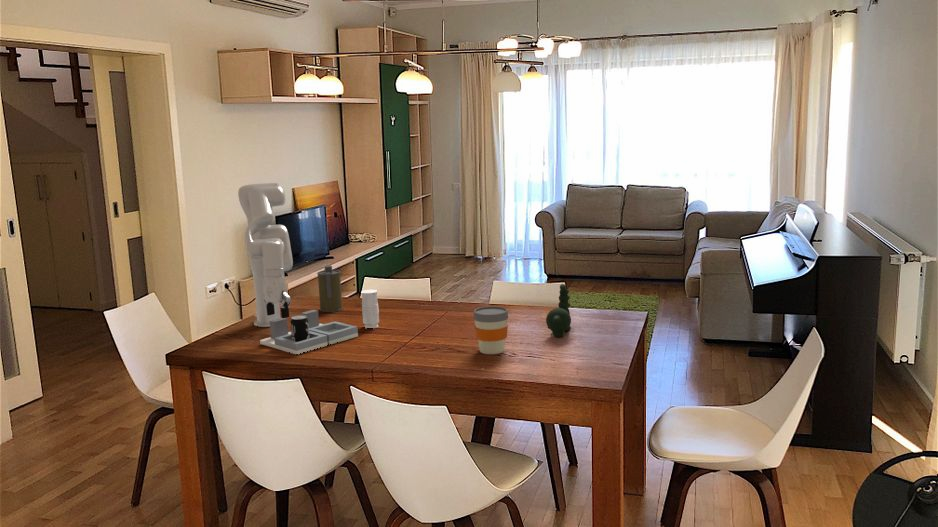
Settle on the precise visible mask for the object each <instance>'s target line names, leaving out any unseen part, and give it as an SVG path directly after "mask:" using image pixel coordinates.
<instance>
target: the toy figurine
mask: <svg viewBox="0 0 938 527" xmlns="http://www.w3.org/2000/svg"><path fill="white" fill-rule="evenodd" d="M559 289H560V290H559V296H558V301H559V302H558V304H557V306H558V307H555V308H553V309H551V310H549V312H548V313H547V315H546V316H545V317H546V318H545V323H546V326H547V328H548V329H549V330H550V331H551V332H552V336H553V337H554V338H558V339H560V338H563V337H564V335H565V333H569V332H570V331H571V329H572V326H571V323H572V317H571V315H570V314H571V312H570V309H569V307H571V304H570V302H569V300H570V299H571V297H570V296H569V292H570V291H569V289H567V286H566V284H564V283H561V284H560V285H559Z"/></svg>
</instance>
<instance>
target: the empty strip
mask: <svg viewBox="0 0 938 527" xmlns="http://www.w3.org/2000/svg"><path fill="white" fill-rule="evenodd" d="M300 315H306V316H307V319H308V325H309V331H312V332H316V333H319V334H323V335H327V344H329V346H331V345H333V344H337V342H338V343H341V342H344V341H347V340H351V339H355V338H356V337H359V331H358V326H356V325H352V324H347V323H344V322H340V321H336V320H335V321H332V322H327V323H320V318H319V310H317V309H310V310H307V311H304V312H301V314H300ZM330 344H331V345H330Z"/></svg>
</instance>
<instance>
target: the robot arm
mask: <svg viewBox="0 0 938 527" xmlns="http://www.w3.org/2000/svg"><path fill="white" fill-rule="evenodd" d="M237 192H238V193H237V195H238V196H237V197H238V201H239V205H240V207H241V209H242V210H243V212H244V214H245V217H246V220H247V227H246V229H245V232H244V242H245V248H246V254H247V256H248V257H249V264H250V269H251V273H252V278H253V279H252V280H253V287H254V296H255V306H256V307H255V309H256V313H254V317H256V320H255V321H253V325H254V326H255V327H257V326H258V327H259V328H270V321H271V320H275V319H279V318H286V319H287V318H290V304H291V299H292V298H291V296H290V295H289V294H288V287H287V282H286V277H285V272H287V271H290V270H291V269H292V268H293V265H294V261H293V260H294V259H293V253H292V248H291V241H290V235H289V232H288V229H287V227H286V226H285V225H284V224H273V223H274V222H275V213H274V209H273V208H274V207H281V206H284V205H285V204H286V194H285V190H284V188H283V187H282V186H281V185H280V183H277V182H269V183H251V184H250V183H249V184H244V185H242V186H240V188H238V191H237ZM280 307H281V308H280Z"/></svg>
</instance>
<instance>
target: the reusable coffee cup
mask: <svg viewBox="0 0 938 527" xmlns="http://www.w3.org/2000/svg"><path fill="white" fill-rule="evenodd" d="M508 319H509V312H508V309H507V308H506V307H502V306H494V305H493V306H490V305H489V306H482V307H478V308H477V307H476V309H474V310H473V321H474V324H475V325H474V330H475V337H476V340H477V341H478V342H477V343H478V349H479V352H480V353H482V354H484V355H497V354H502V353H504V352H505V345H506V339H507V337H508V327H509V324H508Z"/></svg>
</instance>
